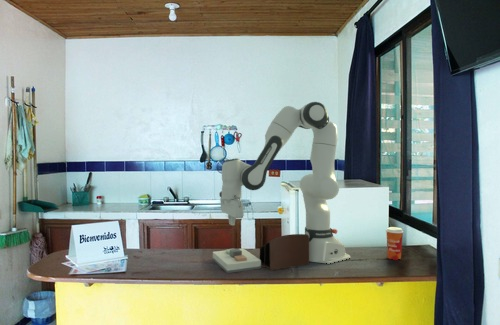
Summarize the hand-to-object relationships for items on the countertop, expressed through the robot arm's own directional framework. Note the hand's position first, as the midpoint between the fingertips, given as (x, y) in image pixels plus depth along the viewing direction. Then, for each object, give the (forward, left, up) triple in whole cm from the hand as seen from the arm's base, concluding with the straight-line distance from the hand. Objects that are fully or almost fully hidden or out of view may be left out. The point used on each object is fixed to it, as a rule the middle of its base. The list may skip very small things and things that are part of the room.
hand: (232, 224), depth 161 cm
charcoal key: (0, +5, -13) cm, 14 cm away
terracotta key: (0, +11, -15) cm, 18 cm away
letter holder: (-19, +14, -17) cm, 29 cm away
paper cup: (-71, +26, -16) cm, 77 cm away
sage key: (0, 0, -15) cm, 15 cm away
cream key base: (0, +5, -16) cm, 17 cm away
